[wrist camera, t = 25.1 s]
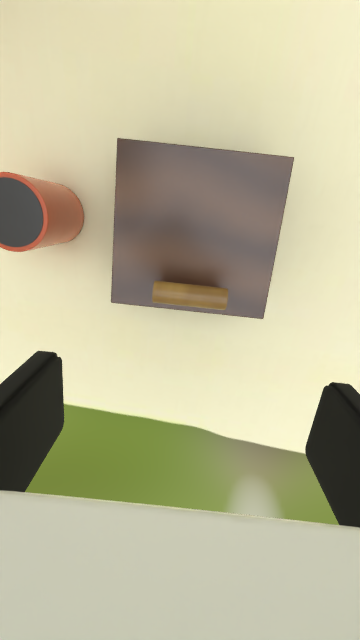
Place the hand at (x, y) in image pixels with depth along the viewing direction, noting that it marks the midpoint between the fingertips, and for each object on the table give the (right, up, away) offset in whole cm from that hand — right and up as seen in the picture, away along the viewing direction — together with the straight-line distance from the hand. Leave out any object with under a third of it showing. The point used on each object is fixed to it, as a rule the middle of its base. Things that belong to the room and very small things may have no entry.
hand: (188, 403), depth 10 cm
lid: (+1, +11, +16) cm, 20 cm away
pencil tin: (-14, +15, +23) cm, 31 cm away
